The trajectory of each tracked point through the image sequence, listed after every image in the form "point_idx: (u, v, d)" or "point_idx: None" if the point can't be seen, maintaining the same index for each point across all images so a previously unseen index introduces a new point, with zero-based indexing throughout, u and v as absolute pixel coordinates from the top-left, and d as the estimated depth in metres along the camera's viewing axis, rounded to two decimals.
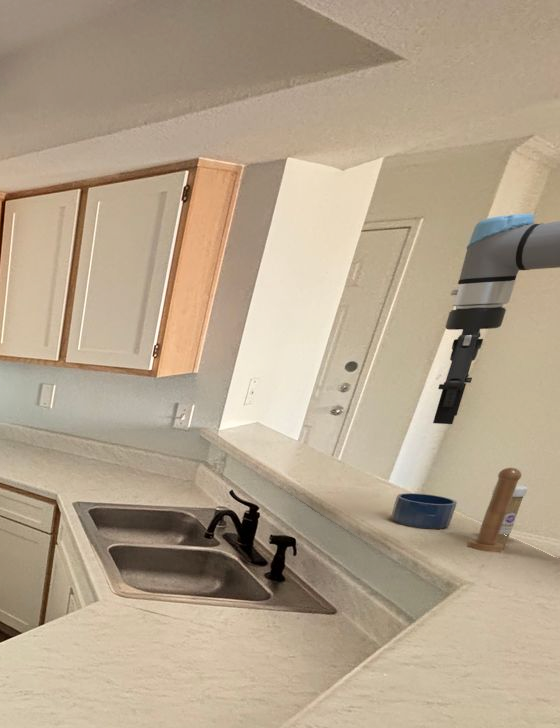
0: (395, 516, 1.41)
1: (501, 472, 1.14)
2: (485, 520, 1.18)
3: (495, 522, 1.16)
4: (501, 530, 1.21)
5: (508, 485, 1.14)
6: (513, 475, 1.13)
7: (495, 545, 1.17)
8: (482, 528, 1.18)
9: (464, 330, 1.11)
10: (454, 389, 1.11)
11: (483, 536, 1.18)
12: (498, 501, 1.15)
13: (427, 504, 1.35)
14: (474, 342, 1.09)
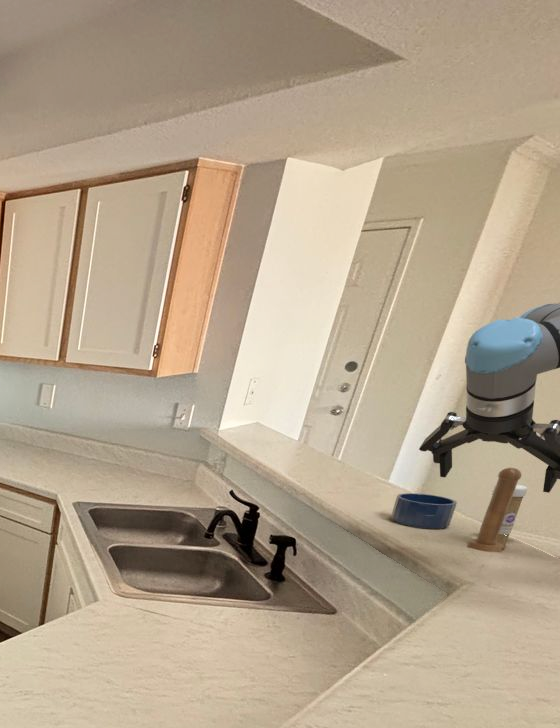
0: (395, 516, 1.41)
1: (501, 472, 1.14)
2: (485, 520, 1.18)
3: (495, 522, 1.16)
4: (501, 530, 1.21)
5: (508, 485, 1.14)
6: (513, 475, 1.13)
7: (495, 545, 1.17)
8: (482, 528, 1.18)
9: (527, 424, 0.96)
10: None
11: (483, 536, 1.18)
12: (498, 501, 1.15)
13: (427, 504, 1.35)
14: None
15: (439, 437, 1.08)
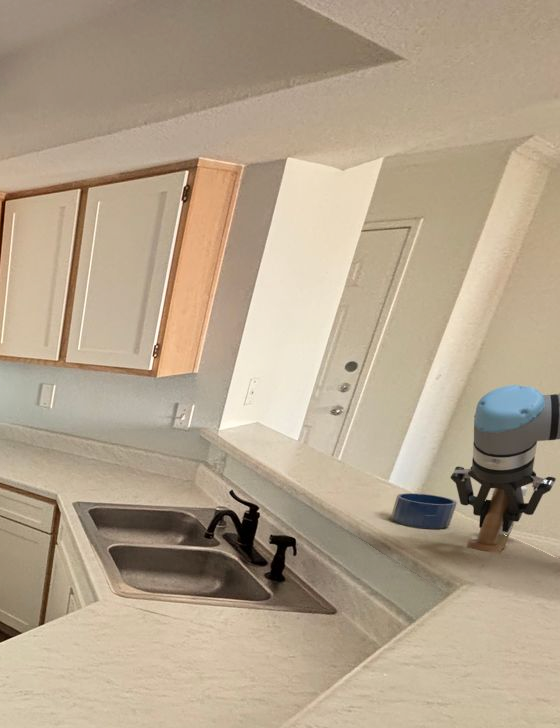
0: (395, 516, 1.41)
1: None
2: (485, 520, 1.18)
3: (495, 522, 1.16)
4: (501, 530, 1.21)
5: None
6: None
7: (495, 545, 1.17)
8: (482, 528, 1.18)
9: (528, 475, 1.05)
10: None
11: (483, 536, 1.18)
12: (498, 501, 1.15)
13: (427, 504, 1.35)
14: None
15: (463, 490, 1.16)
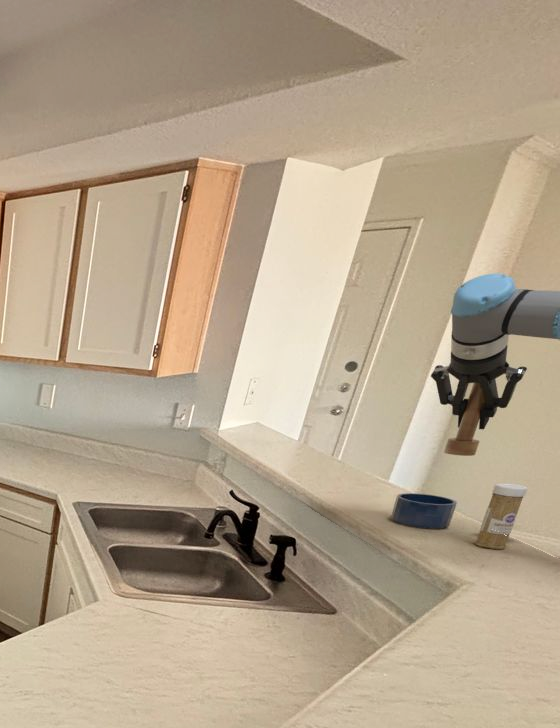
0: (395, 516, 1.41)
1: None
2: (463, 418, 1.26)
3: (472, 419, 1.24)
4: (501, 530, 1.21)
5: None
6: None
7: (472, 441, 1.25)
8: (460, 426, 1.26)
9: (502, 365, 1.13)
10: None
11: (461, 433, 1.26)
12: (475, 398, 1.23)
13: (427, 504, 1.35)
14: None
15: (443, 388, 1.24)
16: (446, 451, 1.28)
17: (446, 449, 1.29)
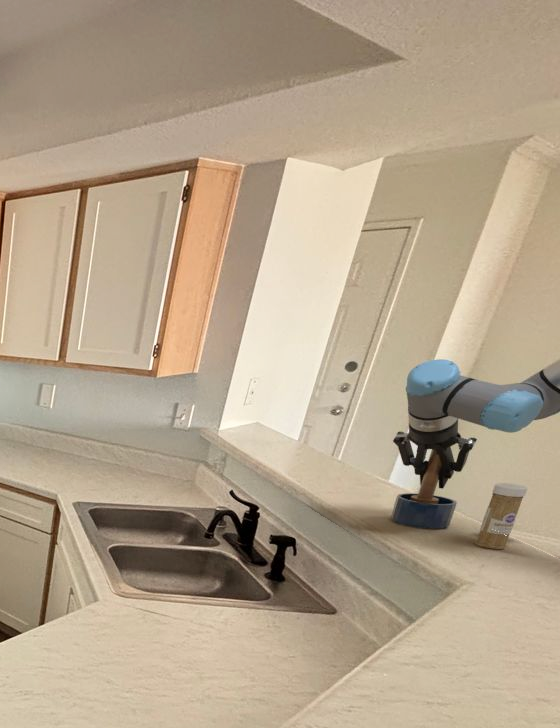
0: (395, 516, 1.41)
1: None
2: (424, 478, 1.38)
3: (431, 479, 1.36)
4: (501, 530, 1.21)
5: None
6: None
7: (432, 499, 1.37)
8: (421, 485, 1.38)
9: (454, 436, 1.25)
10: None
11: (422, 492, 1.38)
12: (434, 461, 1.35)
13: (427, 504, 1.35)
14: None
15: (404, 452, 1.36)
16: None
17: None
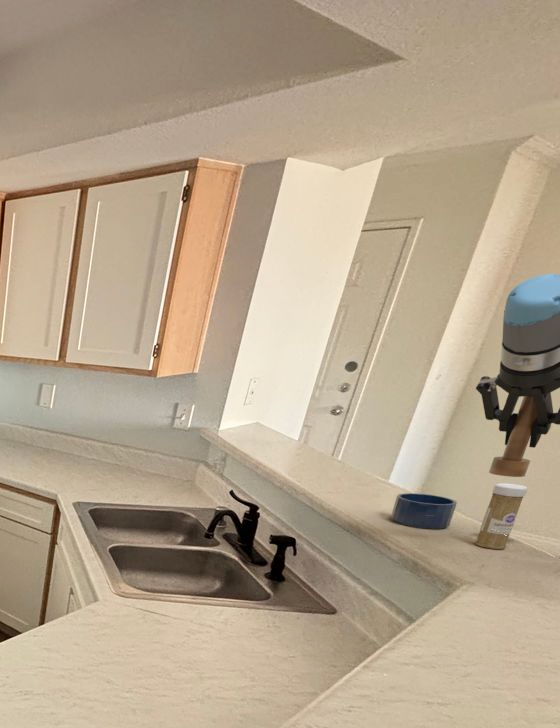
0: (395, 516, 1.41)
1: None
2: (511, 435, 1.13)
3: (522, 436, 1.11)
4: (501, 530, 1.21)
5: None
6: None
7: (522, 460, 1.12)
8: (508, 443, 1.13)
9: None
10: None
11: (509, 452, 1.13)
12: (526, 413, 1.10)
13: (427, 504, 1.35)
14: None
15: (489, 401, 1.11)
16: (492, 471, 1.15)
17: (492, 469, 1.16)
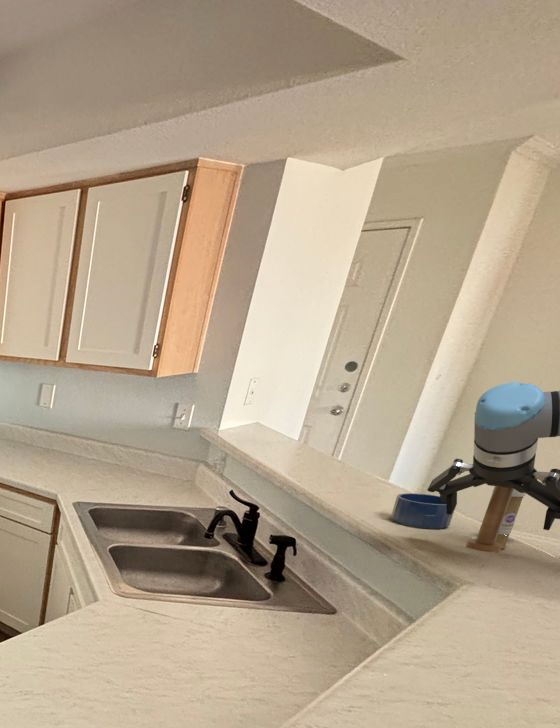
0: (395, 516, 1.41)
1: None
2: (484, 520, 1.18)
3: (494, 522, 1.16)
4: (501, 530, 1.21)
5: None
6: None
7: (494, 545, 1.17)
8: (481, 528, 1.18)
9: (529, 473, 1.05)
10: None
11: (482, 536, 1.18)
12: (497, 501, 1.15)
13: (427, 504, 1.35)
14: None
15: (447, 480, 1.17)
16: None
17: None
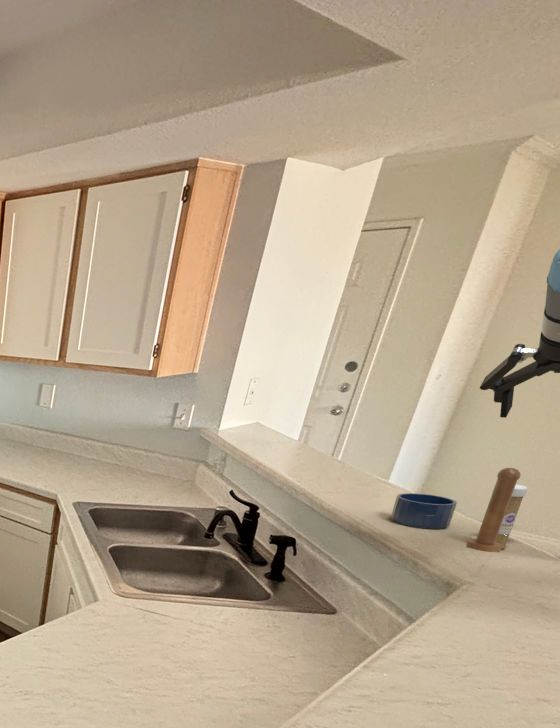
0: (395, 516, 1.41)
1: (500, 472, 1.14)
2: (484, 520, 1.18)
3: (494, 522, 1.16)
4: (501, 530, 1.21)
5: (507, 485, 1.14)
6: (512, 475, 1.13)
7: (494, 545, 1.17)
8: (481, 528, 1.18)
9: None
10: None
11: (482, 536, 1.18)
12: (497, 501, 1.15)
13: (427, 504, 1.35)
14: None
15: (505, 372, 1.02)
16: None
17: None
